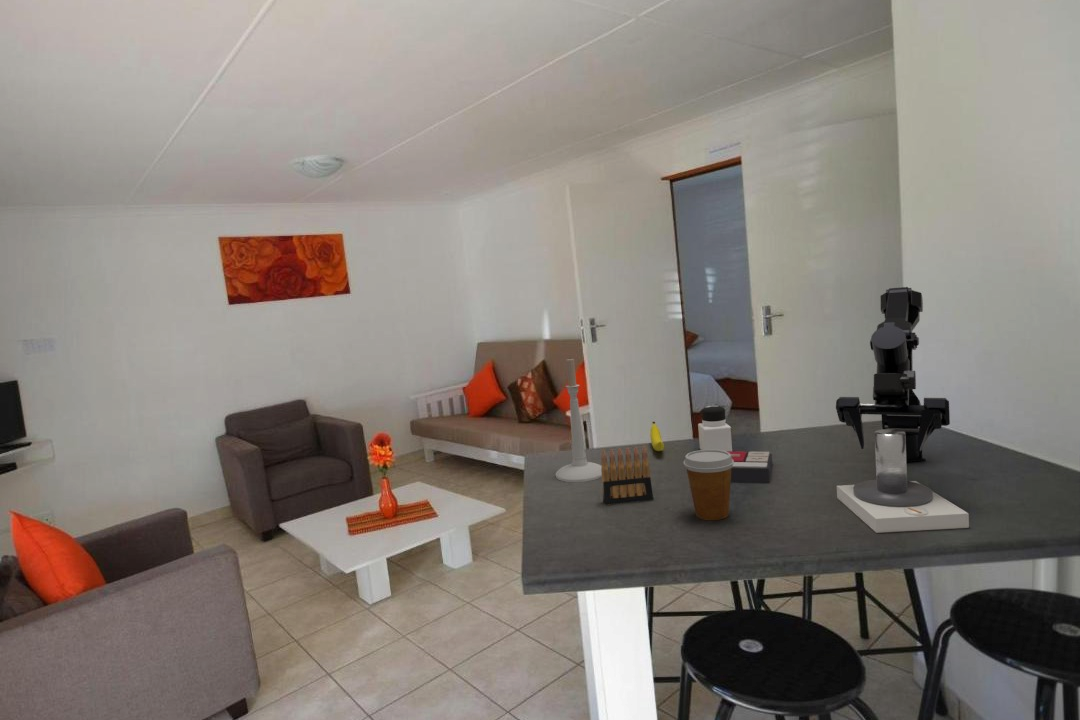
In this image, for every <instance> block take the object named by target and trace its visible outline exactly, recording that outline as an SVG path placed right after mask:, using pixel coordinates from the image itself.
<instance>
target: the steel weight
mask: <svg viewBox="0 0 1080 720" xmlns="http://www.w3.org/2000/svg"><path fill="white" fill-rule="evenodd" d="M874 449H875V452H874V453H875V469H876V470H875V473H876V479H877V490H878V491H880V492H883V493H887V494H903V493H906V492H907V491H908V489H907V481H908V470H907V469H908V467H907V465H908V462H906V437H905V432H904V431H901V430H894V429H877V430H875V431H874Z"/></svg>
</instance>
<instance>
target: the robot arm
mask: <svg viewBox="0 0 1080 720" xmlns="http://www.w3.org/2000/svg"><path fill="white" fill-rule="evenodd" d="M923 305H924V303H923V295H922V292H920V291H916V290H914V289H912V287H908V286H906V287H905V286H904V287H903V286H902V287H892V288H891V287H890V288H888V289H885V293H883V294H881V295H880V312H881V314H882V315H884V321H883V322H881V323H879V324H877V326H876V330H874V332H873V333H872V334H871V338H870V341H869V346H870V350H871V351H873V355H874V360H875V362H876V373H874V374H873V386H872V392H873V393H872V400H873V401H874V403H861V401H860V397H859V396H839V397H838V398H837V399H836V403H835V409H836V413H837V418H838V421H839V422H841V423H845V425H846V426H848V427H852V429H853V431H854V434H856V438H857V441H858V443H859V447H860V450H864V448H865V438H864V437H865V435H864V424H863V419H862V416H863V415H877V416H879V415H881V426H882V429H881V430H883V429H894V430H901V431H904V432H905V437H906V463H911V462H925V461H927V458H926V457H924V456H923V448H924V446H925V444H926V442H927V441H928V439H929V437H930V436H931V435H932V434H933V433H934V431H935V430H940V429H941V428H942V427H944V426H945V427H947V426H949V425H950V424H951V423H950V422H951V419H950V418H951V415H950V414H951V413H950V400H948V399H947V397H923V405H922V404H921V400H920V399H919V397H918V395H916V394H915V392H914V390H916V389H917V385H916V384H917V379H916V377H917V375H916V370H913V369H914V368H913V350H914V351H916V350H917V349H918V346H919V344H920V338H919V337H918V335H917V334H916V332H913V331H914V329H915V328H916V326H917V325H918V324H919V322H920V318H921V315H920V313H922V312H923V310H924V306H923Z"/></svg>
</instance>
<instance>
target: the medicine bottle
mask: <svg viewBox="0 0 1080 720" xmlns="http://www.w3.org/2000/svg"><path fill="white" fill-rule="evenodd" d="M726 420H727V419H726V409H725V408H724V407H723V406H720V405H708V406H705V407H703V408H702V409H701V421H702V422H701V423H698V424H697V427H698V441H699V449H700V450H721V451H726V452H727V451H733V436H732V435H733V434H732V427H731V426H730V425H729V424H728V423H726V422H727V421H726Z"/></svg>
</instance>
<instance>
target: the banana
mask: <svg viewBox="0 0 1080 720" xmlns="http://www.w3.org/2000/svg"><path fill="white" fill-rule="evenodd" d="M651 423H652V425H651V428H650V440H651V441H650V442H651V445H652V448H653V450H654V451H656V452H661V451H663V450H664V448H665V444H664V442H663V441H662V435H661V431H660V429H659V427H658V426H657V425H656V421H652V422H651Z"/></svg>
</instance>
